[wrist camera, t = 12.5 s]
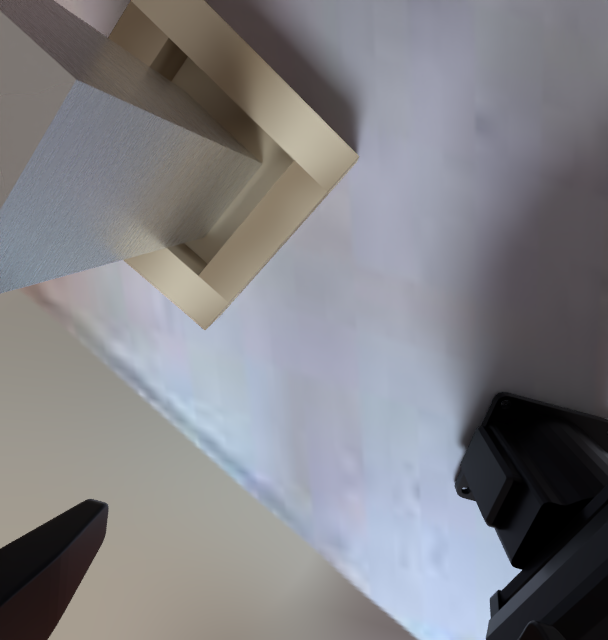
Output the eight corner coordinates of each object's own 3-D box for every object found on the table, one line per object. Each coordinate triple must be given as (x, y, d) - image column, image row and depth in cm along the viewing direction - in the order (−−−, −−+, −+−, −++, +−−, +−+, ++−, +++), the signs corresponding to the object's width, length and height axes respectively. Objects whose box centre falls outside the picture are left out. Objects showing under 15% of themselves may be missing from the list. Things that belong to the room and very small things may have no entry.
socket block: (356, 163, 18) (359, 156, 15) (223, 312, 21) (204, 330, 18) (189, -5, 17) (158, -46, 14) (71, 178, 20) (25, 175, 17)
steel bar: (262, 163, 18) (77, 79, 5) (204, 237, 19) (-58, 309, 7) (186, 91, 17) (-224, -192, 5) (131, 172, 18) (-310, 116, 6)
